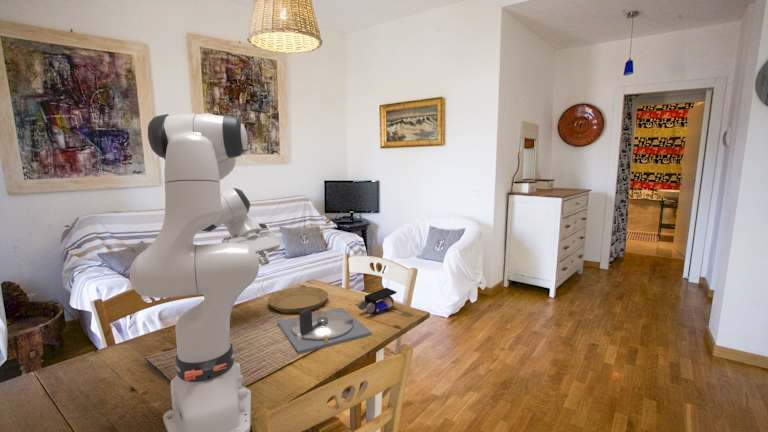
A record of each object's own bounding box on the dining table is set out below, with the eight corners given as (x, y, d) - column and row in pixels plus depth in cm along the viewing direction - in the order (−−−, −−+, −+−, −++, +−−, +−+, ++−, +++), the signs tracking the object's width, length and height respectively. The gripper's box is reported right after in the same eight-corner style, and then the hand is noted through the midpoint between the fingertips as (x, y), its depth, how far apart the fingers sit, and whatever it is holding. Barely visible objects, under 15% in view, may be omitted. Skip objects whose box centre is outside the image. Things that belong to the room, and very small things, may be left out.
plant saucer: (276, 321, 137) (276, 312, 137) (262, 300, 158) (261, 293, 157) (337, 307, 149) (337, 300, 149) (316, 290, 170) (316, 283, 169)
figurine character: (370, 323, 137) (398, 307, 147) (368, 304, 136) (396, 289, 146) (358, 318, 142) (386, 303, 152) (356, 299, 140) (384, 285, 151)
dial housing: (371, 334, 125) (371, 326, 124) (298, 354, 112) (297, 344, 112) (341, 309, 146) (341, 302, 146) (277, 323, 134) (277, 315, 133)
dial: (319, 309, 143) (318, 288, 142) (364, 321, 133) (364, 298, 132) (278, 331, 125) (277, 306, 124) (327, 345, 115) (326, 319, 114)
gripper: (223, 232, 122) (245, 265, 119) (271, 223, 140) (291, 252, 136) (215, 244, 125) (237, 277, 122) (263, 234, 143) (283, 262, 139)
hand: (266, 263), depth 129 cm, fingers closed
